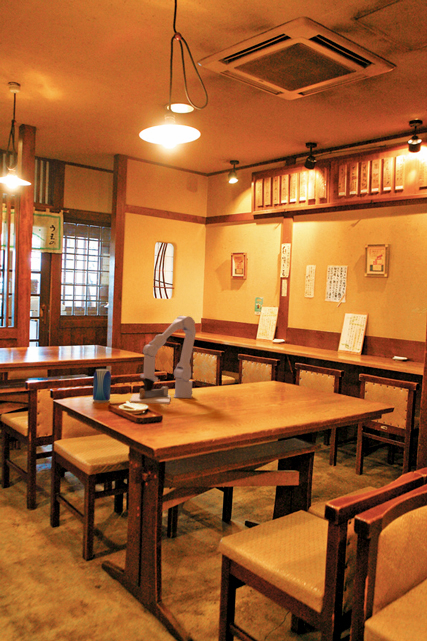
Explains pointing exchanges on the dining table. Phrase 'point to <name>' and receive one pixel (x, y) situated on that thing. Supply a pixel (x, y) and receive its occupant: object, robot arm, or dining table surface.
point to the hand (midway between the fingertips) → (148, 393)
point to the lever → (154, 392)
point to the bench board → (150, 399)
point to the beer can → (101, 386)
